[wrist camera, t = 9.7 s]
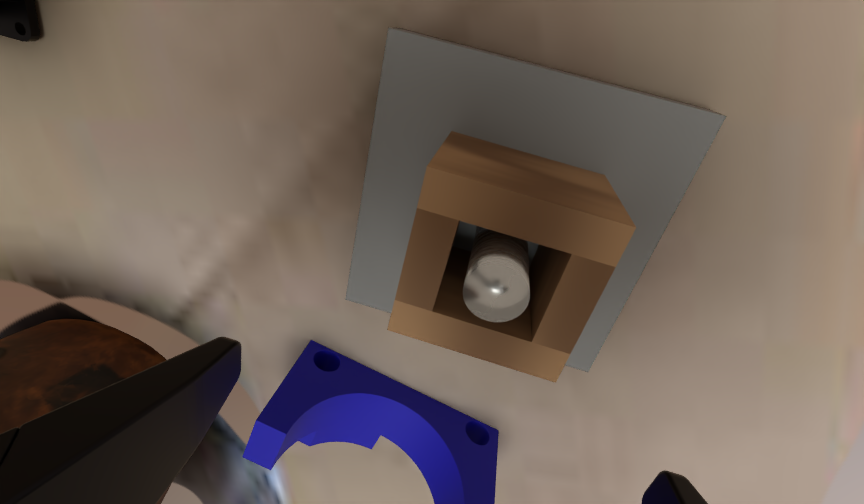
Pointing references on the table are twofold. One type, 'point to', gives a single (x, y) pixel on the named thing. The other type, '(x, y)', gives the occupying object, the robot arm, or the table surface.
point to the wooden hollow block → (522, 218)
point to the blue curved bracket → (376, 424)
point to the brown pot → (64, 366)
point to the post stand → (525, 131)
